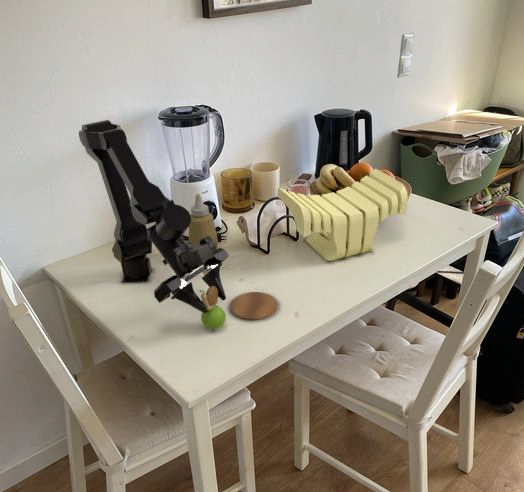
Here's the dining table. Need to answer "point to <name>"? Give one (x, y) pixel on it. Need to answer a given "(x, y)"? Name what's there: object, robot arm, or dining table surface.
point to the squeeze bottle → (201, 223)
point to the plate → (253, 306)
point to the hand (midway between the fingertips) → (215, 306)
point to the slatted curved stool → (346, 214)
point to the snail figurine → (212, 309)
